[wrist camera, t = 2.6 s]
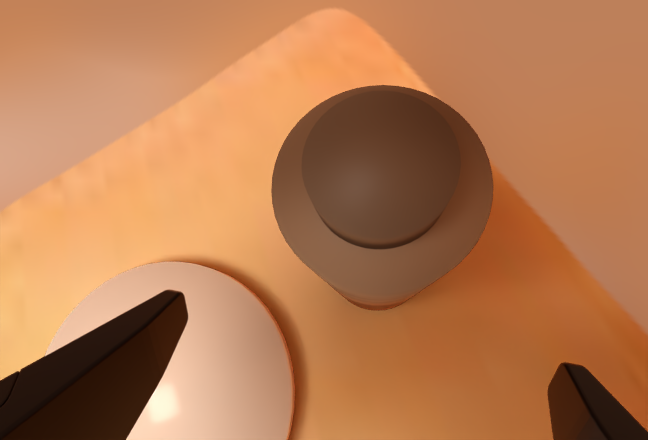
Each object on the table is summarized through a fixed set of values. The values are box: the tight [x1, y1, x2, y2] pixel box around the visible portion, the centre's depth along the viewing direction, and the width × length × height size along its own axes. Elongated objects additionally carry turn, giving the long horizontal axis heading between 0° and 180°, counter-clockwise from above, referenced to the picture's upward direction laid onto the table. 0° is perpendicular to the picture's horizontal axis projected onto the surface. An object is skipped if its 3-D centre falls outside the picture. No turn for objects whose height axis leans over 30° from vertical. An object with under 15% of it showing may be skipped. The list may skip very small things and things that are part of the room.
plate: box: [45, 262, 295, 440], centre depth 19 cm, size 13×13×1 cm
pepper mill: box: [272, 85, 493, 310], centre depth 14 cm, size 5×5×13 cm
